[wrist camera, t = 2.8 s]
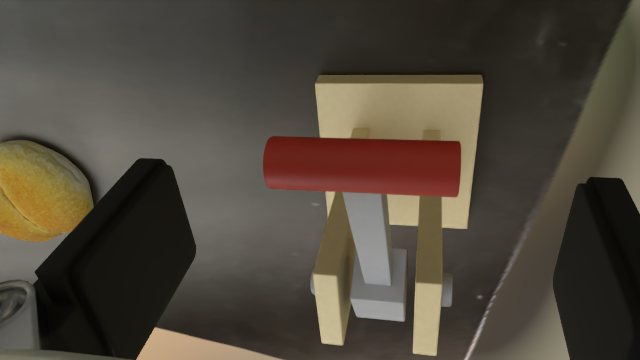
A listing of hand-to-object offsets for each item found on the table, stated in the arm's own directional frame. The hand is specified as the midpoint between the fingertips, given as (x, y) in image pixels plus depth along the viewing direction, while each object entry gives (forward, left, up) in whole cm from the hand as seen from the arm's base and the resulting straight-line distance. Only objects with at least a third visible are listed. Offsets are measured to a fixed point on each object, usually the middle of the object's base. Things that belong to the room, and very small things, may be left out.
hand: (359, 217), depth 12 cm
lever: (+4, 0, -5) cm, 7 cm away
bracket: (+9, 0, -17) cm, 19 cm away
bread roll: (+13, -27, -17) cm, 35 cm away
